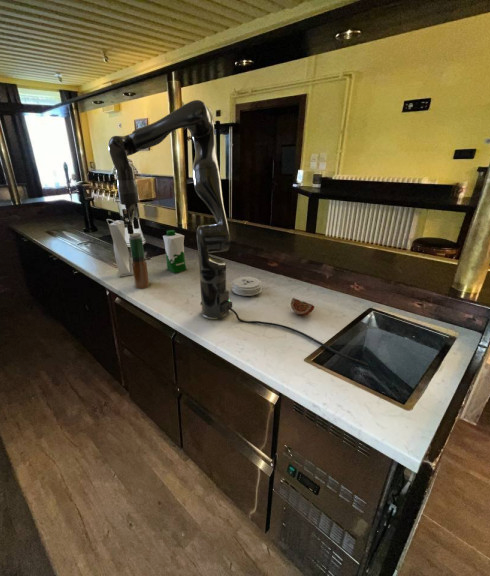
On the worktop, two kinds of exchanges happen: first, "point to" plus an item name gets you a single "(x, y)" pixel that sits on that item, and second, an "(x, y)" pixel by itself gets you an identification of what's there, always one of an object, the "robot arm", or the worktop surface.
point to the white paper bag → (121, 248)
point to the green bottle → (136, 245)
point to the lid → (247, 286)
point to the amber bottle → (140, 272)
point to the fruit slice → (301, 307)
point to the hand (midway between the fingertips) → (133, 231)
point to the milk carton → (174, 251)
